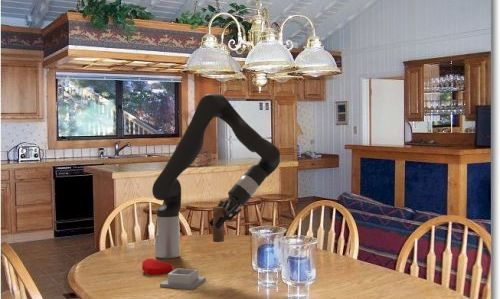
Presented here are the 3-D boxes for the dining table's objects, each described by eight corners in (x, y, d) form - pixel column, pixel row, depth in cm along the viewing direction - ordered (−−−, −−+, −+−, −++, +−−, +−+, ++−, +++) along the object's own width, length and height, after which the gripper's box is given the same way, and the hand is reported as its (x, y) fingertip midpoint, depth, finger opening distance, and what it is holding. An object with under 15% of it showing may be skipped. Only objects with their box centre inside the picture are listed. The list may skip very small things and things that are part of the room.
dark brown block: (211, 241, 194) (211, 208, 194) (215, 239, 198) (215, 206, 198) (222, 242, 193) (221, 208, 193) (225, 240, 197) (225, 207, 196)
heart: (160, 282, 198) (174, 272, 207) (161, 271, 197) (175, 262, 206) (132, 273, 202) (148, 264, 211) (133, 263, 202) (149, 254, 211)
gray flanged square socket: (160, 286, 186) (159, 275, 186) (174, 277, 197) (174, 266, 197) (192, 289, 183) (192, 277, 182) (205, 279, 194) (205, 268, 194)
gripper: (228, 181, 205) (198, 216, 199) (246, 185, 192) (215, 222, 187) (240, 194, 207) (211, 229, 202) (259, 199, 195) (229, 236, 190)
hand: (213, 226), depth 194 cm, fingers closed on dark brown block, 4 cm apart
